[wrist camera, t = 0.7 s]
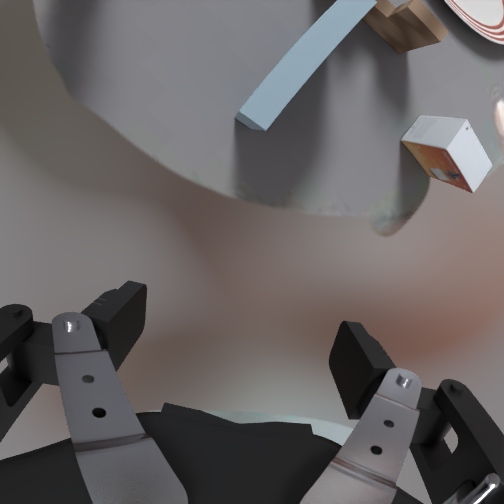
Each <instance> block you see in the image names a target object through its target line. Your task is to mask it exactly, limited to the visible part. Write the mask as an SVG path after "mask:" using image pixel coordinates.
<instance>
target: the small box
mask: <svg viewBox="0 0 504 504" xmlns="http://www.w3.org/2000/svg"><path fill="white" fill-rule="evenodd" d="M401 141H402V143H403V144H404V145H405V146H406V147H407V148H408V149H409V151H410V152H411V153H412V154H413V156H414V157H415V158H416V160H417V161H418V162H419V164H420V165H421V166H422V168H423V169H424V170H425V172H426V173H427V174H428V176H430V177H433V178H436V179H438V180H441V181H443V182H446V183H449V184H451V185H454V186H456V187H459V188H461V189H464V190H466V191H468V192H471V193H474V191H475V190H476V189H477V187H478V186H479V185H480V183H481V181H482V180H483V179H484V177H485V176H486V174H487V173H488V171H489V170H490V168H491V166H492V163H491V162H490V160H489V158H488V156H487V154H486V153H485V151H484V149H483V147H482V145H481V144H480V142H479V140H478V138H477V136H476V135H475V133H474V131H473V129H472V128H471V126H470V124H469V122H468V120H467V119H460V118H449V117H437V116H422V115H420V116H419V117H418V119H417V120H416V121H415V122H414V124H413V125H412V126H411V128H410V129H409V130H408V131H407V133H406V134H405V135H404V136H403V138H402V139H401Z"/></svg>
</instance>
